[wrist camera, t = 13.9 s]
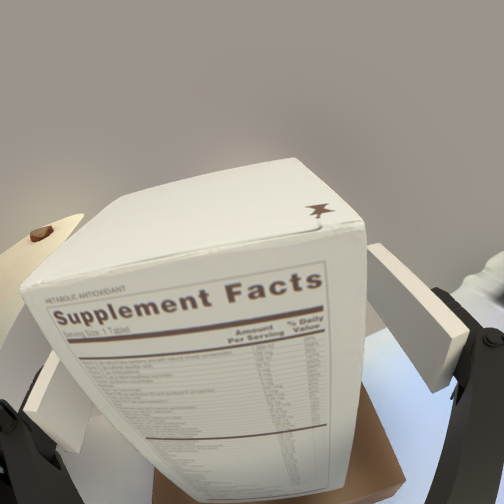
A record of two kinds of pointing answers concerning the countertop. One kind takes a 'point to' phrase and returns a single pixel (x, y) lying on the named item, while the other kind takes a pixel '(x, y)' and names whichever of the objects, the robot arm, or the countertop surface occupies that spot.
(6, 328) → the countertop surface
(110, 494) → the countertop surface
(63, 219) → the countertop surface
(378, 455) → the walnut base
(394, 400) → the countertop surface
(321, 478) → the supplement box
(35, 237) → the slice of bread
